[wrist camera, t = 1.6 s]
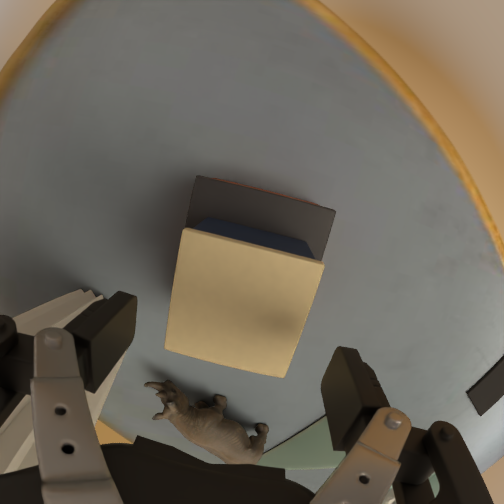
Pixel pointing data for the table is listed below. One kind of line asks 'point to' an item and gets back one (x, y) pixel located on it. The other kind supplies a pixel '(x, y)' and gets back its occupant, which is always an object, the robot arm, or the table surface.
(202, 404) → the rhino figurine
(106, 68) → the table surface
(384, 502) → the right angle wall
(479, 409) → the mat
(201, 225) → the top container
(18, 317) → the vase
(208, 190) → the bottom container
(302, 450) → the planter
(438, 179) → the table surface
